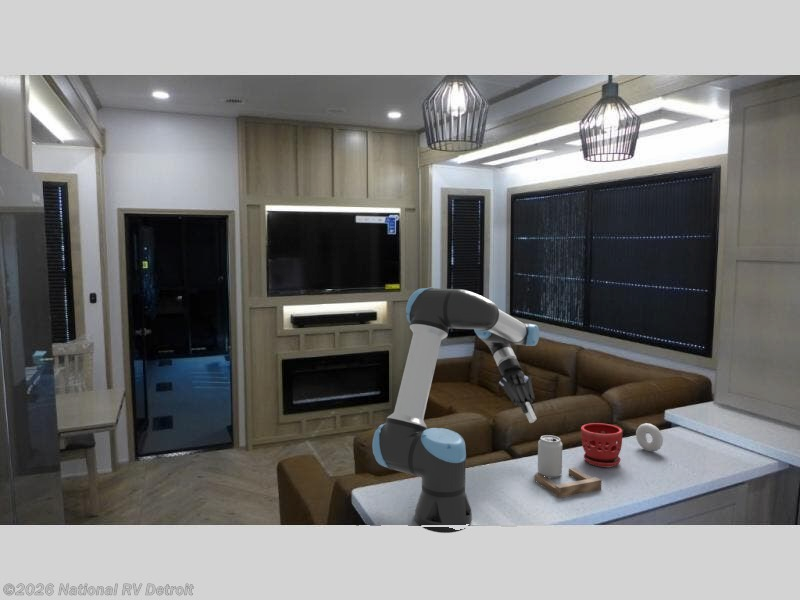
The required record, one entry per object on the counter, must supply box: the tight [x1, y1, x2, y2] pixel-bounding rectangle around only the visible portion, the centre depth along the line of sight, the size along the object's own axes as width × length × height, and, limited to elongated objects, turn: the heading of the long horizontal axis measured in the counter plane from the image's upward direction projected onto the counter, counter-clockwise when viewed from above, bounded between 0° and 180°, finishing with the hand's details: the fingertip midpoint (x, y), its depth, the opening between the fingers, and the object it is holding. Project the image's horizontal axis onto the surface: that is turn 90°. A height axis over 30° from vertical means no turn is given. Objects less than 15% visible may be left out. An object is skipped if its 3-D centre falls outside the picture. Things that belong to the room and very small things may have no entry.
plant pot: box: [580, 422, 623, 468], centre depth 179 cm, size 13×13×12 cm
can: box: [537, 434, 563, 479], centre depth 169 cm, size 8×8×12 cm
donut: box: [635, 422, 664, 453], centre depth 188 cm, size 10×3×10 cm, turn 30°
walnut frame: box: [533, 467, 602, 499], centre depth 162 cm, size 15×12×3 cm
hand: (533, 420), depth 179 cm, fingers closed
